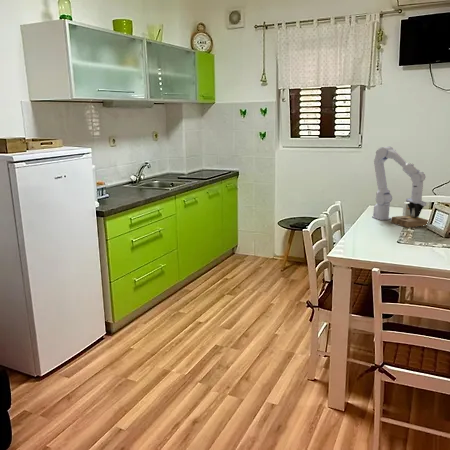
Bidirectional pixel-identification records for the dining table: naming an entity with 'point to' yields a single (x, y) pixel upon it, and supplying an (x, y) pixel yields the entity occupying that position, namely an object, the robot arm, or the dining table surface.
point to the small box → (406, 209)
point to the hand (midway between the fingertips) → (414, 215)
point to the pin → (413, 213)
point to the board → (409, 221)
